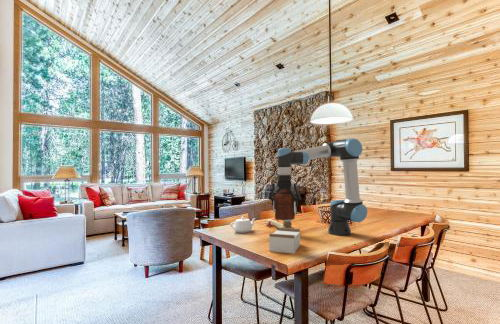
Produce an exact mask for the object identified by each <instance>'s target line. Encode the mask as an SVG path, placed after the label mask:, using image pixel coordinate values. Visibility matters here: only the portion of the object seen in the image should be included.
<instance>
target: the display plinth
mask: <svg viewBox="0 0 500 324" xmlns="http://www.w3.org/2000/svg"><path fill="white" fill-rule="evenodd" d="M293 228H294V227H293ZM293 228H279V227H277V226H276V230H275V231H274V232H272V233H268V234H269V237H268V243H269V244H268V246H269V247H268V251H269V252H273V253H274V252H275V253H285V254H295V253H296V252H297V250H298V249H299V247H300V246H301V228H294V229H293Z"/></svg>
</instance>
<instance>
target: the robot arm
mask: <svg viewBox="0 0 500 324" xmlns="http://www.w3.org/2000/svg"><path fill="white" fill-rule="evenodd" d="M362 153H363V145H362V143H361V141H359V140H358V139H357V138H354V137H353V138H344V139H337V140H334V141H330V142H327V143H323V144H322V145H320V146H313V147H310V148H305V149H303V148H302V149H300V150H294V151H292V150H291V148H290V147H281V148H278V149H277V183H275V182H273V183H272V188H271V189H270V190H271V191H270V192H269V196H268V200H270V201H271V206H272V208H273V209H272V210H273V213H275V211H276V210H275V209H274V195H275V194H276V193H278V191H279V190H281V189H287V190H288V191H289V192H290V194H291V195H292V197H293V198H294V200H295V201H294V213H295V214H296V213H297V207H299V201H301V200H302V197H301V195H300V192H299V189H298V188H297V186H298V184H297V183H292V176H291V175H292V171H291V170H292V165H307V164H308V163H309V161H311V160H314V159H320V158H328V159H329V158H339V160H340V162H341V163H342V166H343V168H342V169H343V178H344V179H343V180H344V182H343V183H344V190H345V191H344V193H345V199H336V200H335V199H334V200H331V201H330V205H329V207H330V208H329V211H330V223H329V226H328V230H327V232H328V234H330V235H334V236H350V235H351V234H352V230H351V226H350V224H349V221H350V222H352V223H361V222H363V221H365V219H366V218H367V216H368V208H367V206H366V205H364V204H363V200H362V199H361V198H360V197H361V196H360V185H359V173H358V172H359V171H358V161H359V159H360V156H361V155H362ZM277 187H278V188H277ZM276 188H277V190H276ZM292 188H293V189H294V192H295V193H294V192H293V190H292ZM275 190H276V192H275Z"/></svg>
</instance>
